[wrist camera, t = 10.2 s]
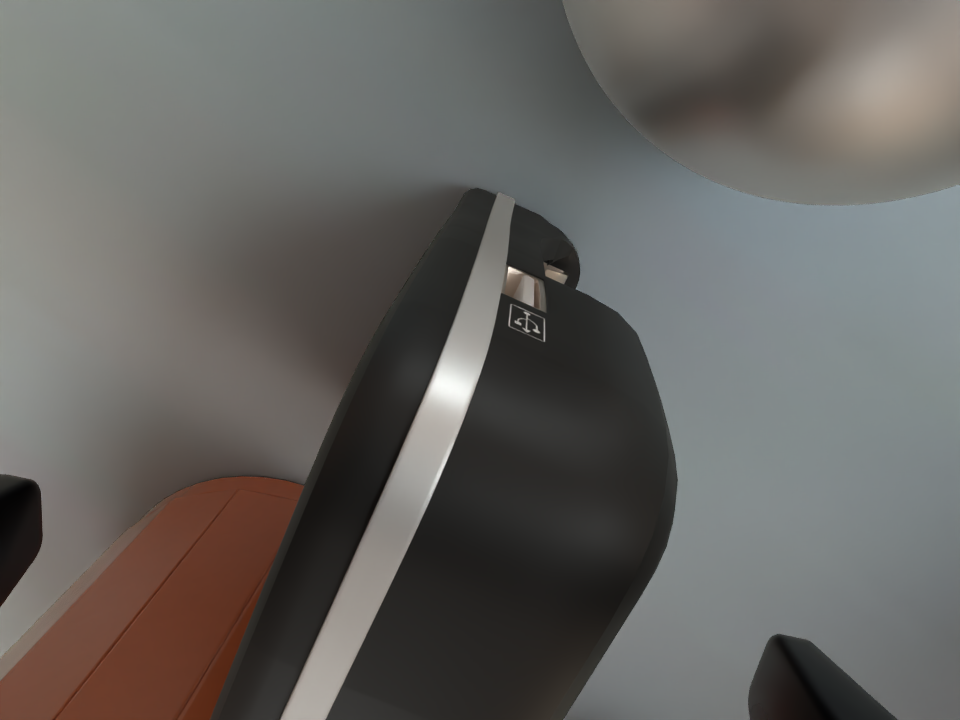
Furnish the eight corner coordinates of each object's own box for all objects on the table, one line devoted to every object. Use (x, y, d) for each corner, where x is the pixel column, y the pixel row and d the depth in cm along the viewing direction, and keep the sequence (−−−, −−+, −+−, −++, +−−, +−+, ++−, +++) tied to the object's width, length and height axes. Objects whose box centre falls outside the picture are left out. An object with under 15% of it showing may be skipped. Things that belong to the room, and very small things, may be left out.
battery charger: (501, 485, 19) (456, 985, 9) (364, 427, 19) (144, 872, 8) (628, 240, 17) (784, 518, 6) (474, 170, 17) (360, 334, 6)
